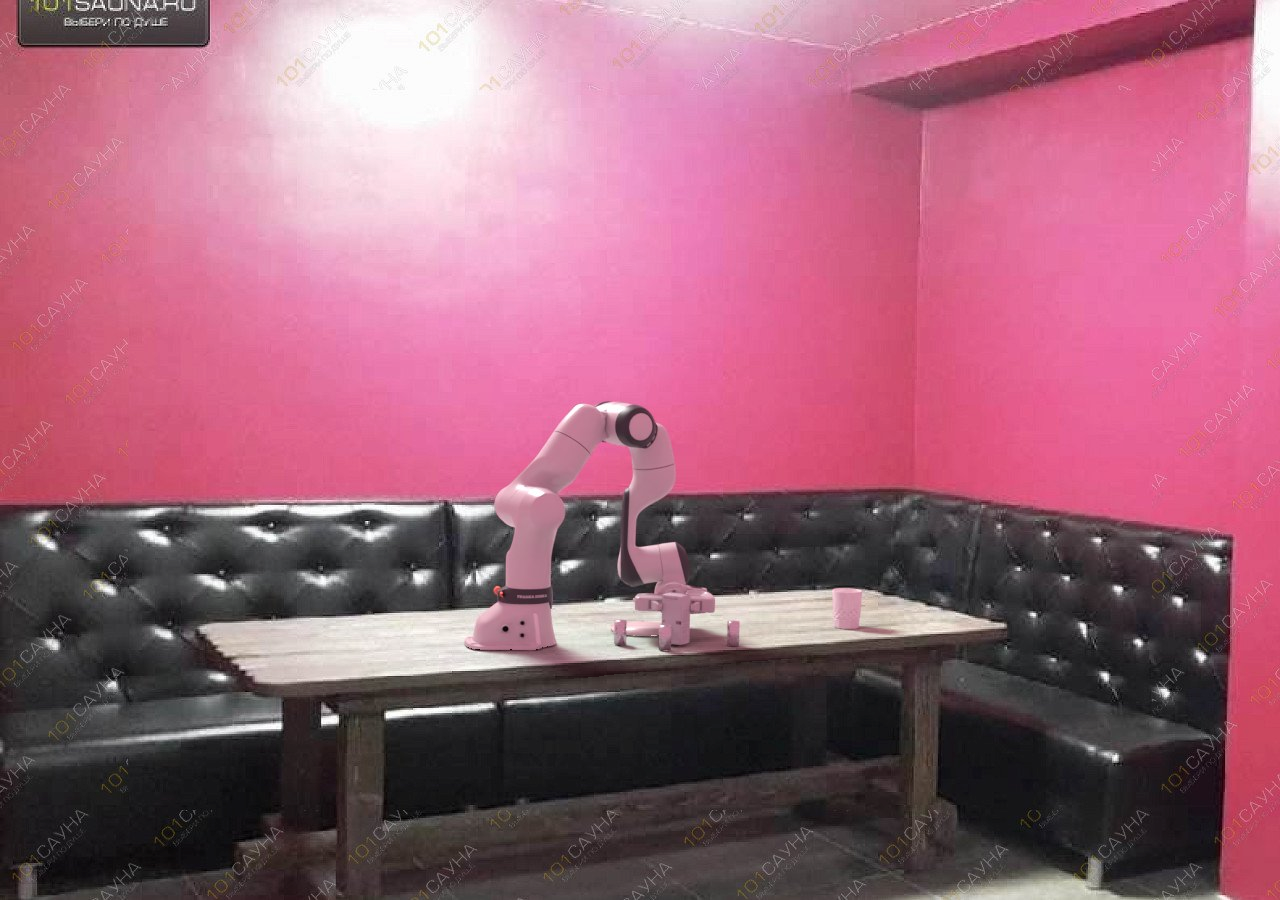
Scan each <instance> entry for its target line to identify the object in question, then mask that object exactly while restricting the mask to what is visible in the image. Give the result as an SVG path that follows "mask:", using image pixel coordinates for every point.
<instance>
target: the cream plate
mask: <svg viewBox="0 0 1280 900" xmlns="http://www.w3.org/2000/svg"><path fill="white" fill-rule="evenodd" d="M659 625H662V622H659V621H650V620H649V621H645V620H643V621H642V620H632V621H631V620H630V621H627V626H626V635H635V636H651V635H659ZM611 631H612V632H614V623H613V624H611V625H610V632H611ZM612 632H611V633H612Z"/></svg>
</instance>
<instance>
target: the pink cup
mask: <svg viewBox="0 0 1280 900" xmlns="http://www.w3.org/2000/svg"><path fill="white" fill-rule="evenodd" d="M862 596H863V591H862V590H861V589H857V588H849V587H839V588H837V587H836V588H833V589H832V597H831V598H832V616H833V627H834V628H835V627H836V628H835V629H839V628H841V629H842V630H855V629H857V630H858V629H859V628H860V621H861V620H860V617H861V613H862V611H861V610H862V609H861V608H862V600H863V599H862ZM841 629H840V630H841Z"/></svg>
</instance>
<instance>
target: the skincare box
mask: <svg viewBox="0 0 1280 900" xmlns="http://www.w3.org/2000/svg"><path fill="white" fill-rule="evenodd" d="M690 600H691V595H688V594H681V593H673V592H670V593H666V594H663V595H662V613H661V623H662V624H667V625H671V645H678V646H683V645H686V644H689V643H690V631H691V629H690V628H691V627H690V626H691V614H690Z"/></svg>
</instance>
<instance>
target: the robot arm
mask: <svg viewBox="0 0 1280 900" xmlns="http://www.w3.org/2000/svg"><path fill="white" fill-rule="evenodd" d="M600 443H608V444H611V445H614V446H618V447H627V448H628V450H629V453H630V456H631V465H632V466H631V467H632V479H631V481H630V484H629V486H628V487H627V488H624V491H623V493H622V500H621V502H622V503H621V512H620V513H621V514H620V515H621V516H620V519H621V520H620V535H619V536H620V538H619V539H620V540H619V541H620V544H619V545H620V547H619V554H618V559H617V574H618V576H619V579H620V581H622V582H623V583H624V584H626V585H627V586H630V587H631V588H633V587H638V586H643V585H645V584H651V583H656V585H655V587H654V593H653V592H651V593H648V592H646V593H645V592H644V593H637V594H636V595H635V597H633V598H632V602H633V603H634V610H635V611H637V612H660V613H661V614H662V595H663V594H666V593H670V592H673V593H681V594H688V595H691V600H690V615H697V614H708V613H709V614H713V613H715V611H716V598H715V596H714V595H713V594H712V593H711V592H709V591H708V588H706V587H701V586H694V585H688V583H689V581H690V579H691V564H690V560H689V557H688V554H687V552H686V549H685V548H684V547H683V546H682V544H680V543H678V542H677V541H674V542H673V541H672V542H671V541H670V542H664V543H658V544H652V545H646V546H637V545H636V532H637V520H638V516H639V514H641V512H642V511H643V510H644V509H646V508H648V506H651V505H652V504H654V503H656V502H657V501H660V500H662V499H663V498H665V497H666V496H667V495H668V494H669V493H670V492H671V491H672V490H673V488H674V486H675V484H676V482H677V481H676V479H677V474H676V473H677V472H676V471H677V470H676V469H677V468H676V461H675V455H674V450H673V446H672V443H671V438H670V435H669V433H668V430H667V428H666V427H665V426H664V425H663V424H661V423H658V422H656V420H655V417H654V416H653V415H652V413H651V412H650V411H649V410H648V409H647V408H646V407H644V406H641V405H638V404H633V403H628V402H625V401H601V402H599V403H597V404H595V405H592V404H589V403H580V404H577V405H575V406H574V407H573V408H572V409H571V410H570V411H569V412H568V413H567V414H566V415H565V416H564V418H562V419H561V421H560V422H559V424H558V425H557V426H556V427H555V429H554V431H553V432H552V433H551V434H550V437H549V438H547V441H546V442H545V444H544V445H543V447H542V448H541V449H540V451H539V452H538V454H537V455H536V456H535V458H533V460H532V461H531V462H530V463H529V464H528V465H527V466H526V467H525V468H524V469H523V471H522V472H520V473H519V474H518V475H517V476H516V478H514V479H513V480H512V481H511V482H510V484H508V485H507V486H505V487H504V488H503V487H502V489H501V490H499V492H498V493H497V495H496V496H495V500H494V510H495V513H496V516H497V517H498V518H499V519H500V520H501V521H502V522H503V523H505V524H506V525H507V526H510V527H512V528H514V533H513V537H512V538H513V539H512V542H511V545H510V548H509V549H508V551H507V552H506V556H505V585H504V586H502V587H500V586H498V585H497V586H495V587H494V588H493V593H494V594H495V595H496V598H497V601H496V603H494V604H493V605H492V606H490V607H489V608H487V610H485V611H483V613H481V614H480V615H479V616H477V618H476V620H475V623H474V628H473V635H469V636H466V637H465V638H464V642H463V643H465V644H464V645H465V647H466V648H468V647H469V649H471V648H472V650H475V649H480V650H479V651H537V650H536V649H538V650H540V649H543V648H548V647H551V646H554V645H556V644H557V639H556V637H555V632H554V626H553V620H552V619H553V618H552V607H553V605H554V604H553V602H554V601H553V597H554V595H553V586H552V585H551V583H552V582H551V581H552V578H551V577H552V576H551V575H552V574H551V572H552V571H551V570H552V555H553V548H554V544H555V540H556V536H557V532H558V529H559V528H560V526H561V524H563V522H564V520H565V516H566V506H565V504H564V501H563V500H562V498H561V497H560V496H559V495H558V494H559V493H561V492H562V490H564V489H565V488H566V487H568V486H569V485H571V484H572V483H573V482H575V480H576V479H577V477H578V475H579V474H580V473H581V471H582V470H583V468H584V467H585V465H586V463H587V462H588V460H589V459H590V457H591V456H592V454H593V453H594V451H595V449H596V448H597V446H598V445H599V444H600ZM547 646H548V647H547ZM542 647H543V648H542ZM510 649H512V650H510Z"/></svg>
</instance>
